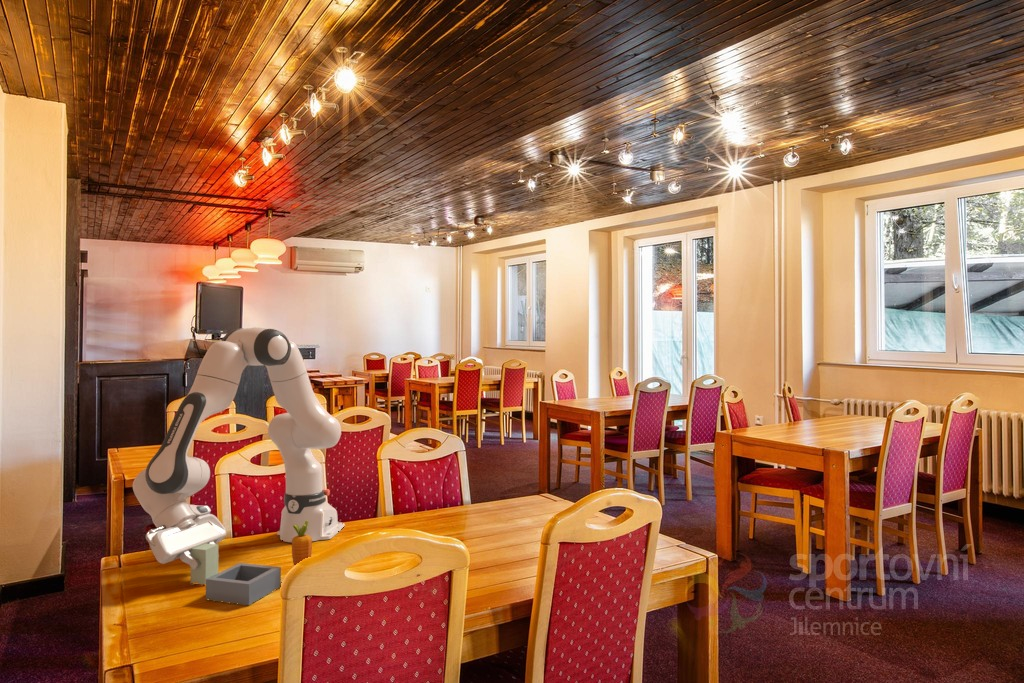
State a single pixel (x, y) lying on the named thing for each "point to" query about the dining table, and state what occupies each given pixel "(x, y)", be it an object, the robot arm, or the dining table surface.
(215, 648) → the dining table surface
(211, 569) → the sage block
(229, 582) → the gray open box
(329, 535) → the robot arm
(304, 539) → the carrot
